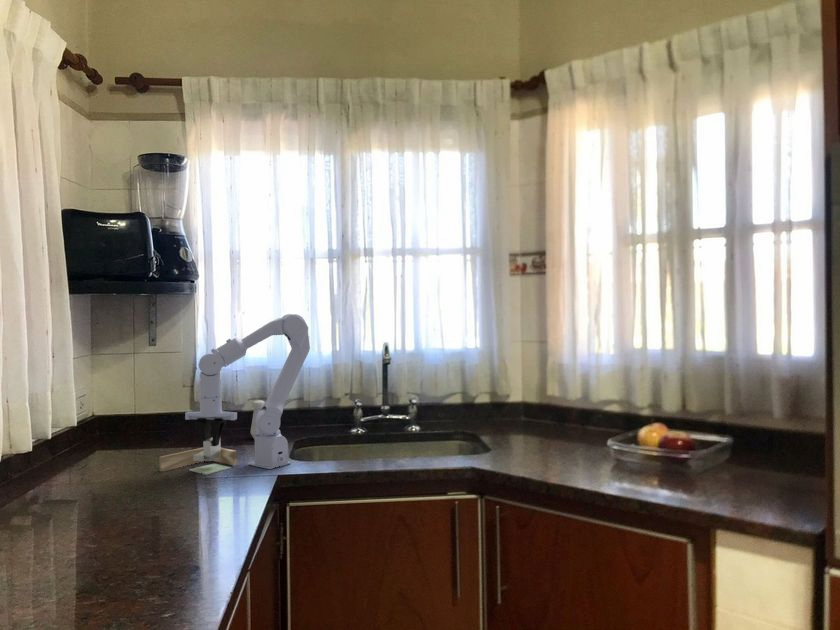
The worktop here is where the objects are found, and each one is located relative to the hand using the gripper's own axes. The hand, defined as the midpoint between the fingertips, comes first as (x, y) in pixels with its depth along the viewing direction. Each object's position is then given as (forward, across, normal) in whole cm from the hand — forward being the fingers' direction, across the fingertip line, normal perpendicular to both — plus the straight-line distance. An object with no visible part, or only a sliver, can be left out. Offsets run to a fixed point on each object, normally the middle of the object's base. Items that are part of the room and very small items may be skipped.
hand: (211, 445), depth 174 cm
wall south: (+7, +1, -9) cm, 11 cm away
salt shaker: (+7, +4, -42) cm, 43 cm away
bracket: (+4, +2, 0) cm, 4 cm away
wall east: (+7, +10, -4) cm, 13 cm away
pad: (+7, +1, 0) cm, 7 cm away
